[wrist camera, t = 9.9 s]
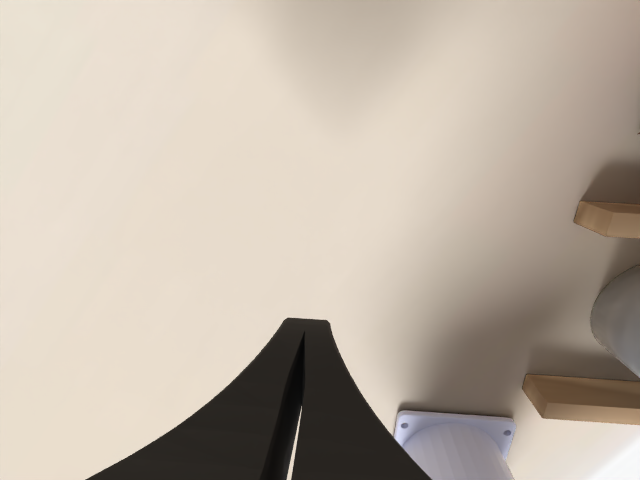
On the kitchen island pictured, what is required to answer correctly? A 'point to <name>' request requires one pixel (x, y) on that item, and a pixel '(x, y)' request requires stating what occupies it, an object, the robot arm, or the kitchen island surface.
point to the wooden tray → (585, 393)
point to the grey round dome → (620, 318)
